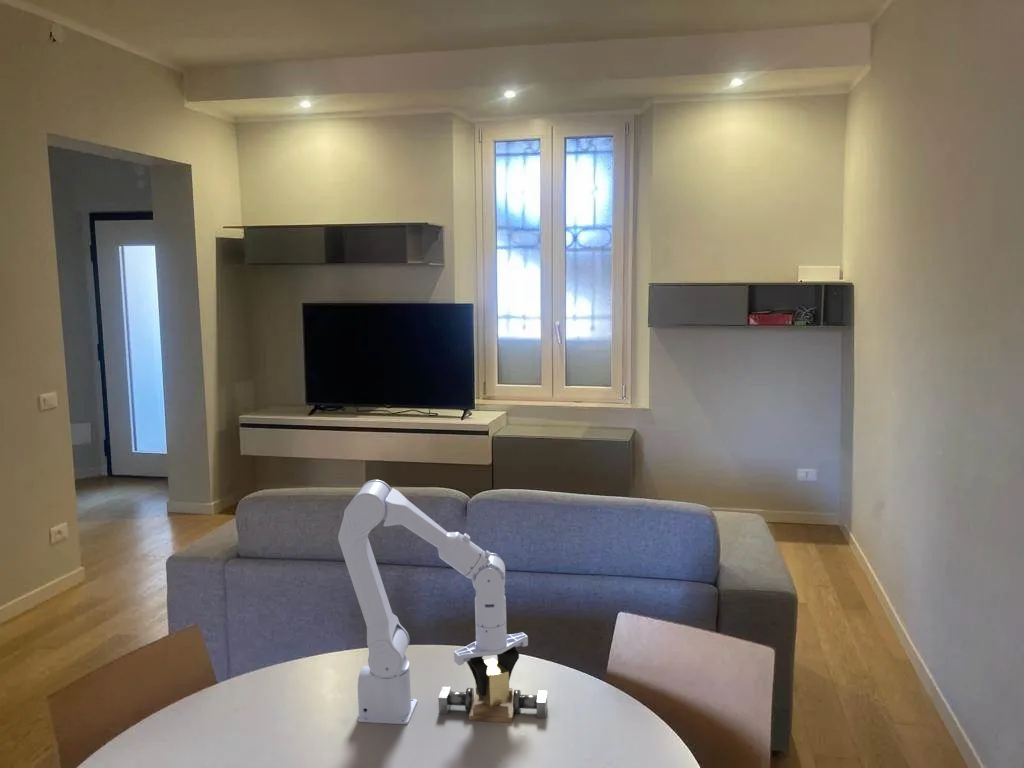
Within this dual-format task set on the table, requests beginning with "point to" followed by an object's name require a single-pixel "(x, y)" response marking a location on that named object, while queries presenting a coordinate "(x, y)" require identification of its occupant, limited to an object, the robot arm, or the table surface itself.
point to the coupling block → (495, 684)
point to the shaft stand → (496, 713)
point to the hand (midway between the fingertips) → (492, 689)
